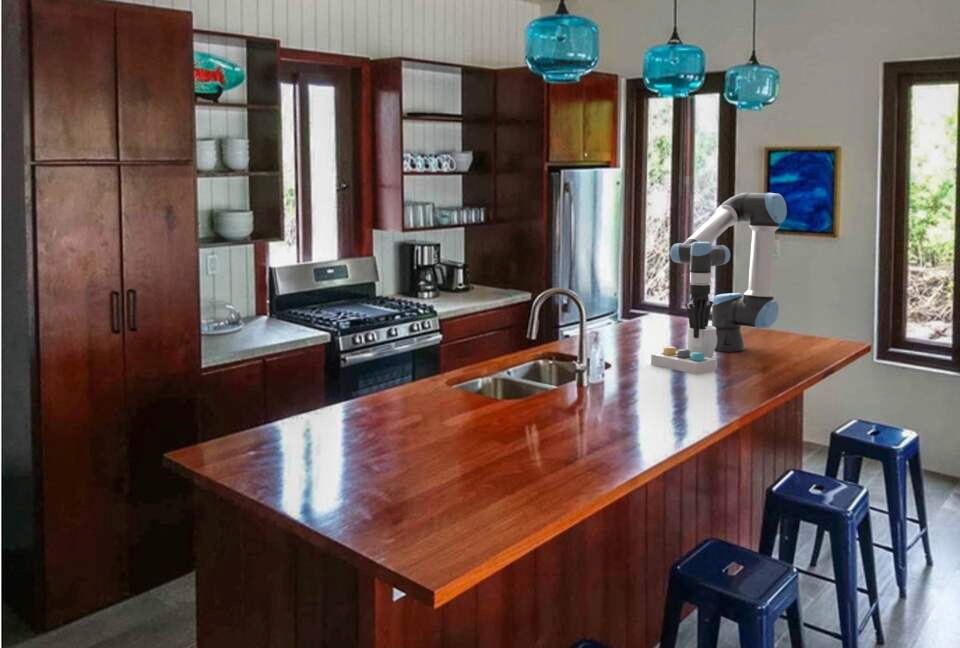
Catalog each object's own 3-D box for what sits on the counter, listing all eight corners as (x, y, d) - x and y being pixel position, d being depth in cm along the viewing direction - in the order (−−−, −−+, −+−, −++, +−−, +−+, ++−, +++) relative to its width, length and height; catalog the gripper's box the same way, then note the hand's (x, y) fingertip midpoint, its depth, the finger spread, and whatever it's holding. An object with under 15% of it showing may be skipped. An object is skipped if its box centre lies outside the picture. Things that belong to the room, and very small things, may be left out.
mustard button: (669, 355, 349) (669, 345, 348) (678, 357, 345) (678, 347, 344) (660, 357, 346) (660, 347, 345) (670, 359, 342) (670, 349, 342)
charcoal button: (682, 358, 343) (683, 348, 343) (692, 360, 340) (692, 350, 339) (674, 360, 341) (674, 350, 340) (684, 362, 337) (684, 352, 336)
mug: (704, 354, 362) (705, 322, 360) (727, 358, 354) (728, 326, 352) (681, 359, 353) (681, 327, 351) (703, 364, 345) (704, 331, 342)
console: (672, 360, 353) (672, 350, 352) (716, 369, 335) (716, 359, 335) (651, 364, 346) (651, 354, 345) (695, 374, 328) (695, 363, 328)
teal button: (697, 361, 338) (697, 351, 337) (707, 363, 334) (707, 353, 333) (688, 363, 335) (688, 353, 334) (698, 365, 331) (698, 355, 331)
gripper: (703, 281, 336) (701, 342, 340) (680, 284, 328) (678, 346, 332) (719, 283, 330) (717, 345, 334) (696, 286, 322) (694, 350, 326)
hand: (698, 346), depth 333 cm, fingers closed
